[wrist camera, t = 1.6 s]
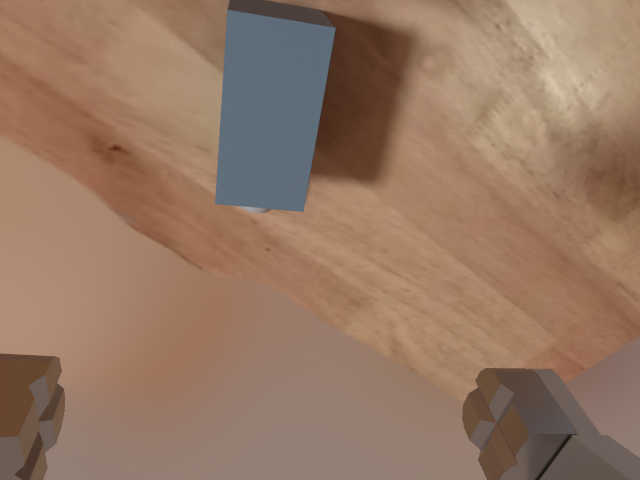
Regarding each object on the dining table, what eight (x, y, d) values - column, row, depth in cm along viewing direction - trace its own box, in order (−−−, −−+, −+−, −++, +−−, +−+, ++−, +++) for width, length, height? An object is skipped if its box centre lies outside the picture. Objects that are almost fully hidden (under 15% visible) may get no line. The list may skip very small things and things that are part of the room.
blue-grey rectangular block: (321, 9, 24) (335, 28, 20) (291, 195, 30) (298, 239, 26) (231, -6, 23) (227, 9, 19) (218, 188, 29) (213, 232, 25)
